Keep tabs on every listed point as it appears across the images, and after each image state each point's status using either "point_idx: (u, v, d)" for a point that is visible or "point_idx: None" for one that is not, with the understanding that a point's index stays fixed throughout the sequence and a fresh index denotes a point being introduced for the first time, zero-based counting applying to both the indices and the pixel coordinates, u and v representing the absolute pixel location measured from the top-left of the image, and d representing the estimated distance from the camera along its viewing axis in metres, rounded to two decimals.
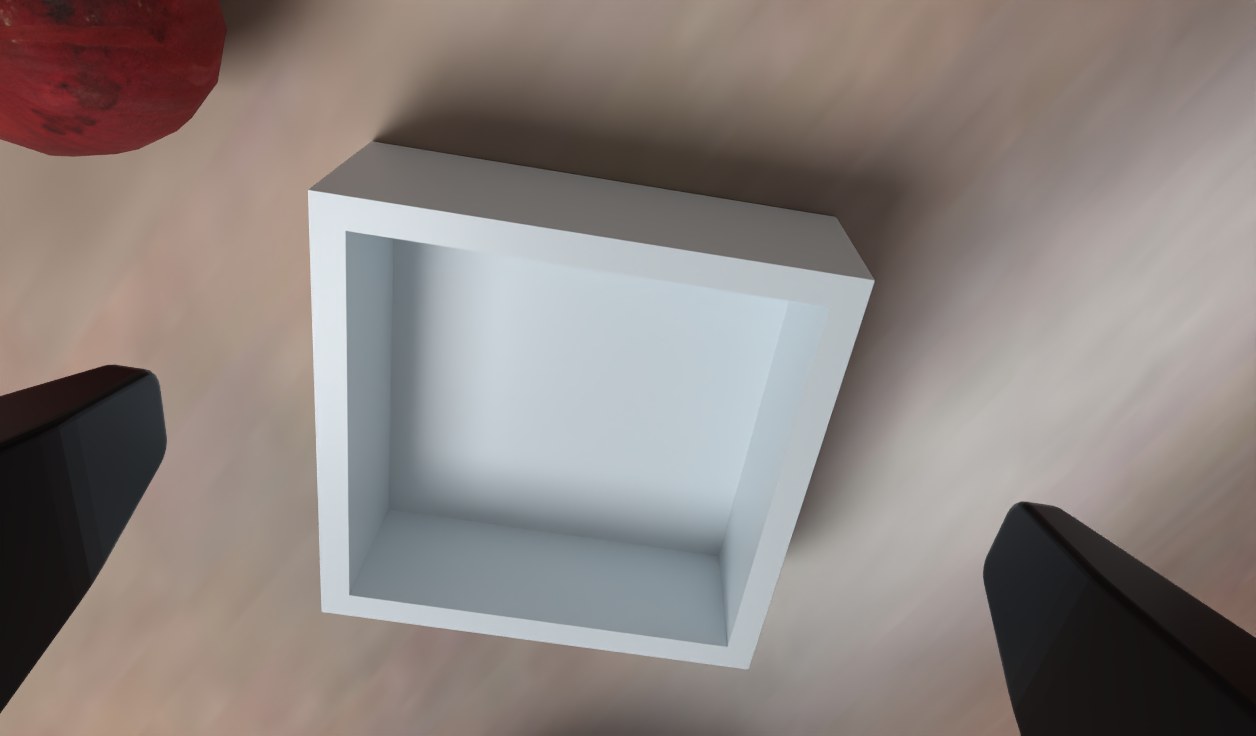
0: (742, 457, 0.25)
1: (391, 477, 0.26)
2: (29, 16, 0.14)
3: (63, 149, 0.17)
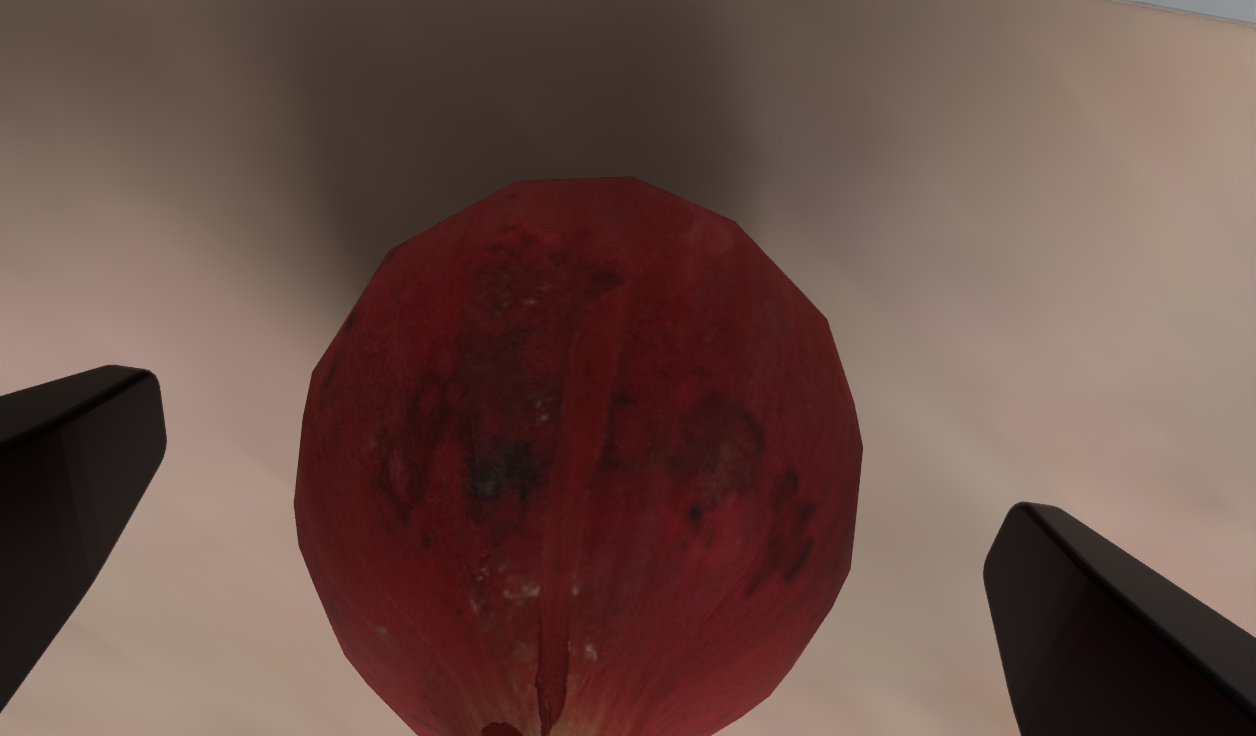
0: None
1: None
2: (522, 537, 0.06)
3: (842, 546, 0.07)
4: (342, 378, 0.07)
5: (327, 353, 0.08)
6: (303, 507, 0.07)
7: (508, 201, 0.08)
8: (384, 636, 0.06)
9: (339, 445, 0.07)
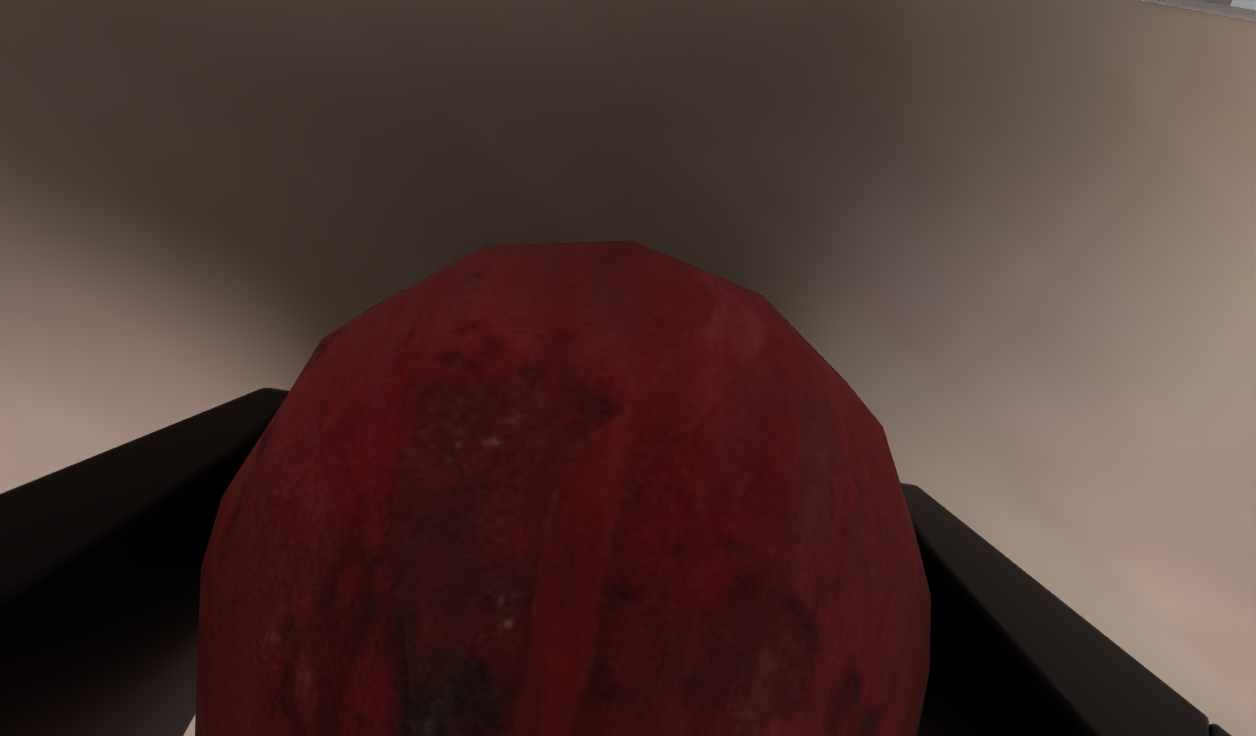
0: None
1: None
2: None
3: None
4: (244, 528, 0.05)
5: (237, 478, 0.06)
6: (196, 695, 0.05)
7: (471, 283, 0.06)
8: None
9: (235, 631, 0.05)
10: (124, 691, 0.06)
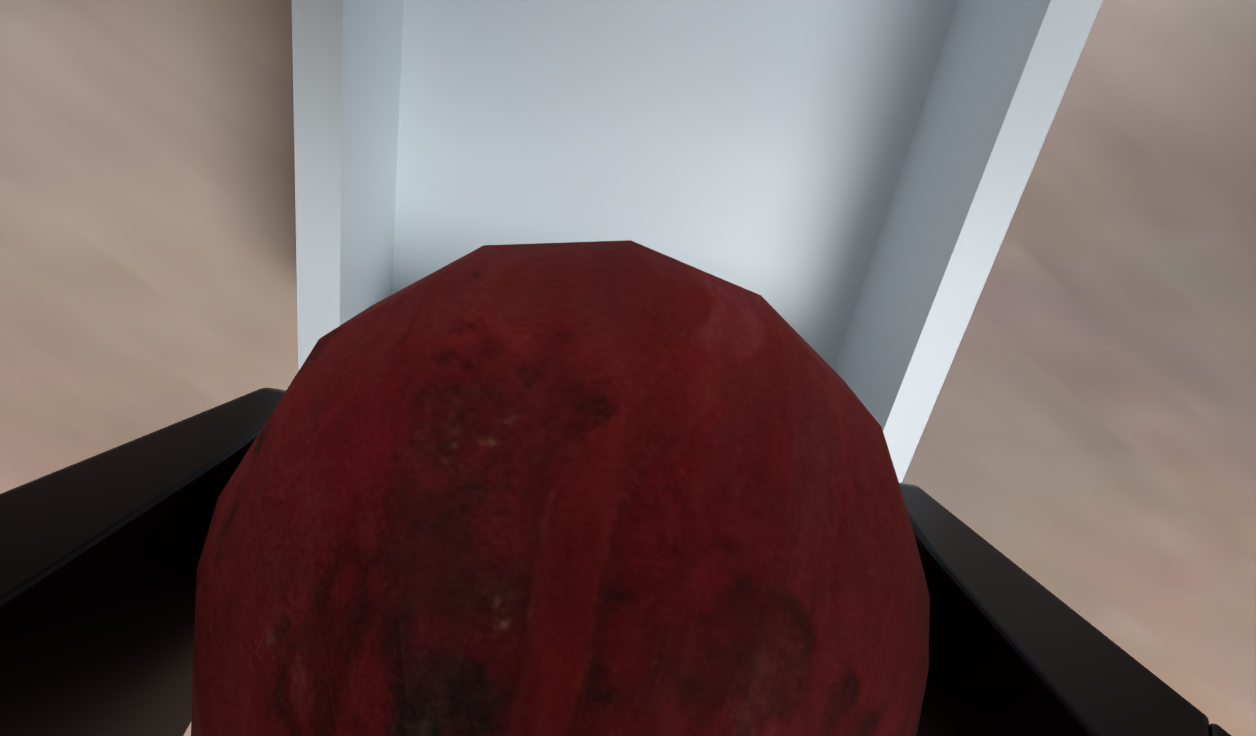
0: None
1: None
2: None
3: None
4: (240, 529, 0.05)
5: (234, 478, 0.06)
6: (192, 696, 0.05)
7: (468, 282, 0.06)
8: None
9: (231, 630, 0.05)
10: (124, 691, 0.06)
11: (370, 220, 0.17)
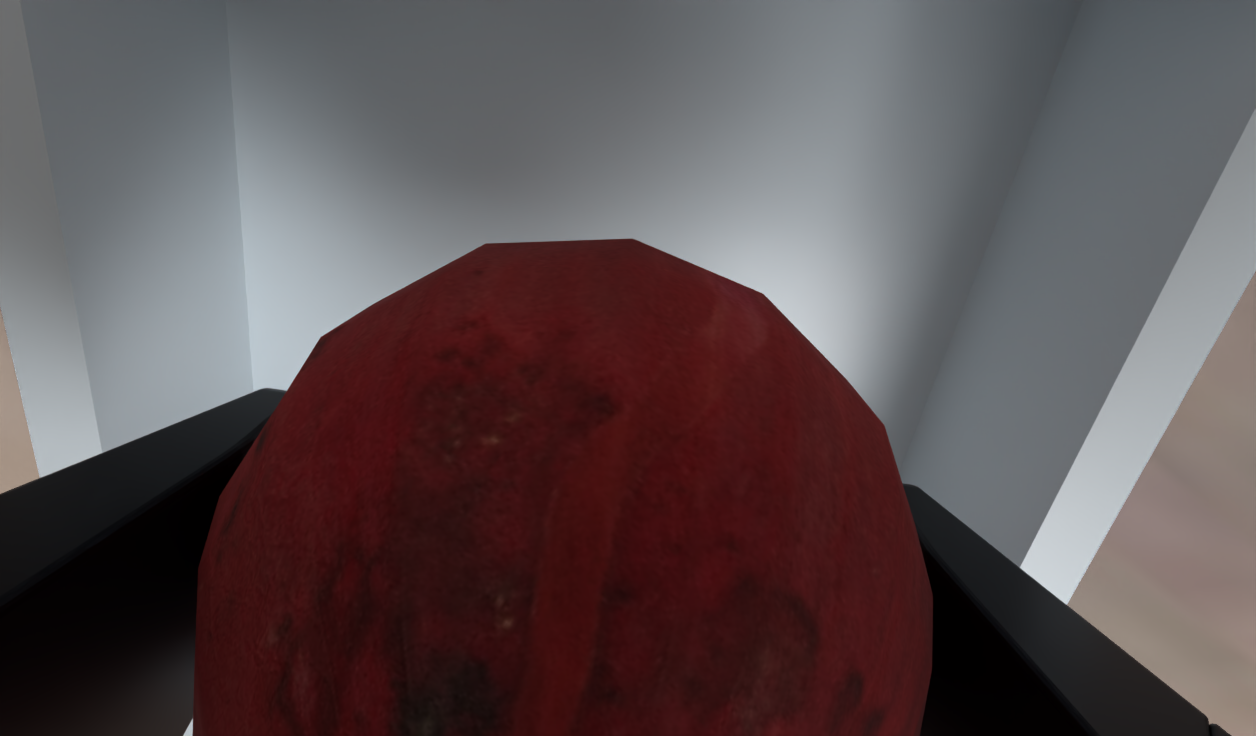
0: None
1: None
2: None
3: None
4: (242, 526, 0.05)
5: (235, 476, 0.06)
6: (194, 694, 0.05)
7: (470, 280, 0.06)
8: None
9: (235, 629, 0.05)
10: (124, 691, 0.06)
11: None
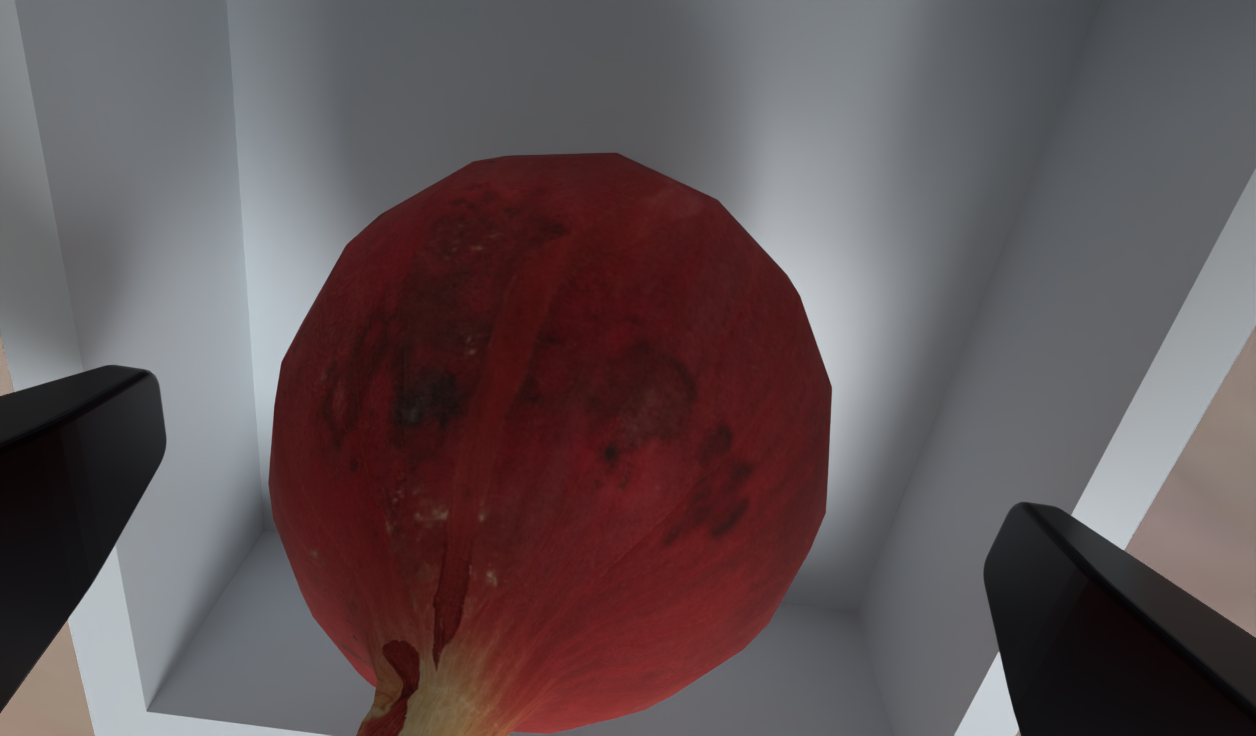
0: None
1: (789, 599, 0.15)
2: (437, 464, 0.06)
3: (791, 517, 0.07)
4: (311, 322, 0.07)
5: (312, 306, 0.08)
6: (271, 445, 0.08)
7: (484, 166, 0.08)
8: (317, 560, 0.06)
9: (299, 381, 0.07)
10: None
11: (193, 449, 0.12)
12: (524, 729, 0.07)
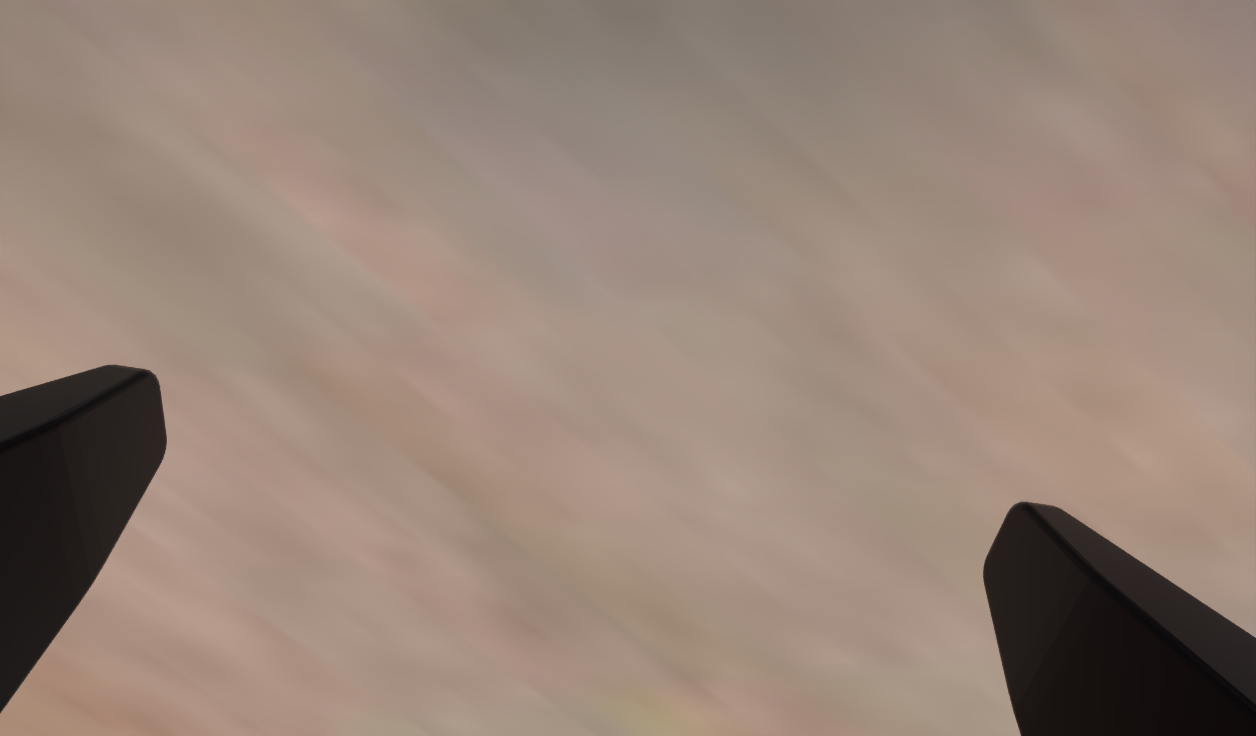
0: None
1: None
2: None
3: None
4: None
5: None
6: None
7: None
8: None
9: None
10: None
11: None
12: None
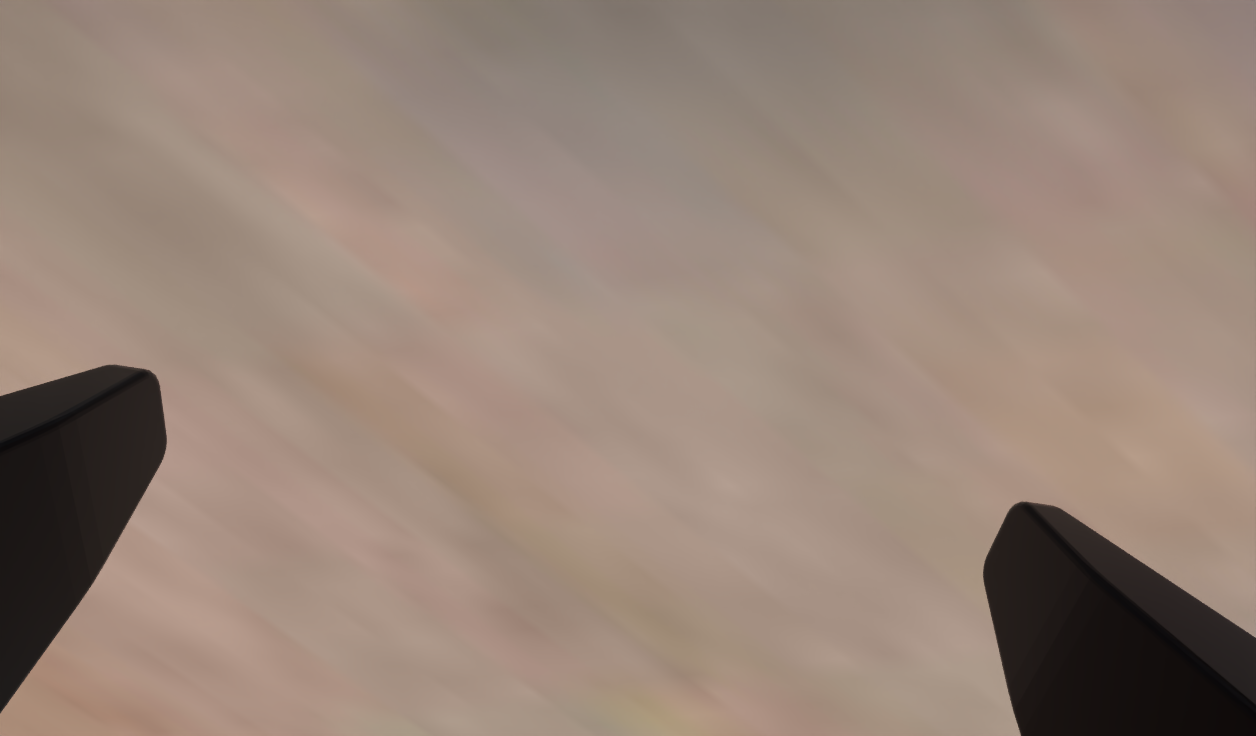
0: None
1: None
2: None
3: None
4: None
5: None
6: None
7: None
8: None
9: None
10: None
11: None
12: None
